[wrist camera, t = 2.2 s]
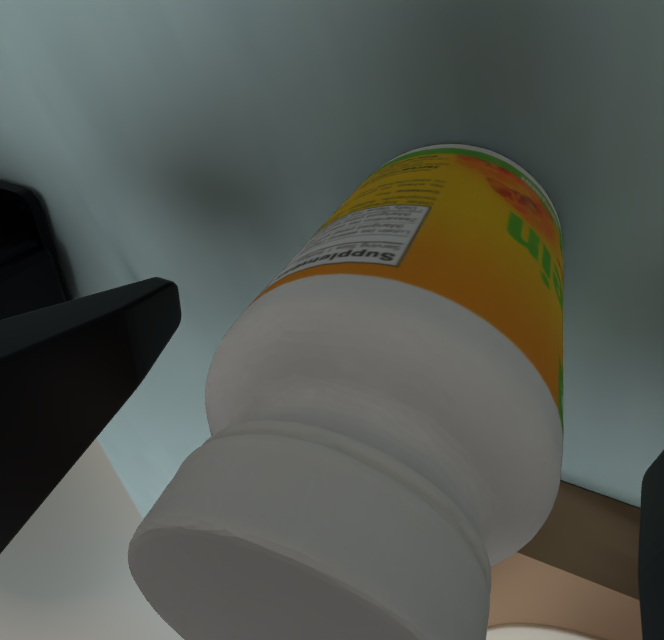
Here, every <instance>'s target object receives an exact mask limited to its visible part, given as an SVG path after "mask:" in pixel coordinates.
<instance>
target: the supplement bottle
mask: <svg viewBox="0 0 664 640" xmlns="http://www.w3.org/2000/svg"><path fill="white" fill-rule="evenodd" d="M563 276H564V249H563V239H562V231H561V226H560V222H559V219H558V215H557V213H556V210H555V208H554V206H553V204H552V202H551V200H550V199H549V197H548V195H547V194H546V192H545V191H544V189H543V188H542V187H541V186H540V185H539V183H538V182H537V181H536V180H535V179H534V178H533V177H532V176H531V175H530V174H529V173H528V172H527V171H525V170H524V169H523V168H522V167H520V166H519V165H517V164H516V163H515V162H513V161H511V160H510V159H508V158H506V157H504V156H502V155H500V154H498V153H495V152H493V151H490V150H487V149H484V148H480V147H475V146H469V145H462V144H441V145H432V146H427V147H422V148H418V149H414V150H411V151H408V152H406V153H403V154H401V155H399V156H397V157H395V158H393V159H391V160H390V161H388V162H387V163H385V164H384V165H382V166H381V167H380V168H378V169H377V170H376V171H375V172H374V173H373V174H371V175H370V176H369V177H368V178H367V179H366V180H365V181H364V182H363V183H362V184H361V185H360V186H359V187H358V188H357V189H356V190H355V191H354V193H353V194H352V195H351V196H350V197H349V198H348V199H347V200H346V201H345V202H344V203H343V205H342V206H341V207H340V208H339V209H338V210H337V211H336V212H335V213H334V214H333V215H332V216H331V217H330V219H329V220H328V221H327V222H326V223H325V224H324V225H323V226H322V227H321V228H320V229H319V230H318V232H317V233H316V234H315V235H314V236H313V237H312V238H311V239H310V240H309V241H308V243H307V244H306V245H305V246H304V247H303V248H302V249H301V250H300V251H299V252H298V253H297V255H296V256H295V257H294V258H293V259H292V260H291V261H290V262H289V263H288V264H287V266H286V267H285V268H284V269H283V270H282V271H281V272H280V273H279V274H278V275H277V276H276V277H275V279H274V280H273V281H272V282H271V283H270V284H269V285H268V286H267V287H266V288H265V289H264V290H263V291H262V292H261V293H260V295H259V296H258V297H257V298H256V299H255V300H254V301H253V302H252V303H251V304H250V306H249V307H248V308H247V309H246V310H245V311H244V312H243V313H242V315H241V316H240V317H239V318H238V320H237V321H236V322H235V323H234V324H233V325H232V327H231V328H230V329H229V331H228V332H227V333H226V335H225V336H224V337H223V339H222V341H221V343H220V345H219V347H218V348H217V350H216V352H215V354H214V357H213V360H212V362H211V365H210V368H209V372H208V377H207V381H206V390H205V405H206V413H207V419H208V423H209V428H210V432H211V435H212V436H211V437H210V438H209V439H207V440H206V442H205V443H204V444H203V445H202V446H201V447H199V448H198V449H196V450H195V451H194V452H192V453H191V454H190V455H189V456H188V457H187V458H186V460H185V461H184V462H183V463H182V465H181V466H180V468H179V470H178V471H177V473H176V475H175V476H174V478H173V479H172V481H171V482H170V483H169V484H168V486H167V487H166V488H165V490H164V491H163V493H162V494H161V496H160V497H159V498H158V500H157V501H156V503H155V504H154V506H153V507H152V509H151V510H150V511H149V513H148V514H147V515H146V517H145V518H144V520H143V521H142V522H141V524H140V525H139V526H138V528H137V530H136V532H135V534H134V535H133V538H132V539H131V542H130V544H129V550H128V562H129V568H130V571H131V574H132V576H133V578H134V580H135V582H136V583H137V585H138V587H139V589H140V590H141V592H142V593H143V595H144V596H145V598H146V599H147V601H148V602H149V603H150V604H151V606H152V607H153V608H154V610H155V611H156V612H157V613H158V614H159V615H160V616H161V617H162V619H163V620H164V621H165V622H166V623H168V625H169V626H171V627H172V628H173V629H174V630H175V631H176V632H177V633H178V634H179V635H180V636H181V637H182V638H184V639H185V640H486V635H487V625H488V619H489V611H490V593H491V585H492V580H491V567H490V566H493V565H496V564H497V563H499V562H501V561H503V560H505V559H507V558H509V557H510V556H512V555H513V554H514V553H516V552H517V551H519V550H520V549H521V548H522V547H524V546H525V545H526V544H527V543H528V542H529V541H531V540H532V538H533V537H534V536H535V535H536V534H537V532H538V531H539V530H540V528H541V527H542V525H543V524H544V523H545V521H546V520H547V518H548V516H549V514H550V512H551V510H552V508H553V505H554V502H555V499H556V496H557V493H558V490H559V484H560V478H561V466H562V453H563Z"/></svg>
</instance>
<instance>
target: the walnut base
mask: <svg viewBox="0 0 664 640" xmlns="http://www.w3.org/2000/svg"><path fill="white" fill-rule="evenodd" d="M640 510H641V509H639V508H636V507H633V506H630V505H627V504H624V503H622V502H619V501H616V500H613V499H610V498H607V497H605V496H602V495H599V494H596V493H593V492H590V491H588V490H585V489H582V488H579V487H576V486H573V485H571V484H568V483H565V482H562V481H560V484H559V490H558V493H557V496H556V499H555V502H554V505H553V508H552V510H551V512H550V514H549V516H548V518H547V520H546V521H545V523H544V524H543V525H542V527H541V528H540V530H539V531H538V532H537V534H536V535H535V536H534V537H533V538H532V540H531V541H529V542H528V543H527V544H526V545H525V546H524V547H522V548H521V549H520V550H519V551H517V552H516V553H514V554H513V555H512V556H510V557H509V558H507V559H505V560H503V561H501V562H499V563H497V564H496V565H493V566H490V567H491V580H492V585H491V593H490V611H489V619H488V625H487V635H486V640H642V628H641V615H640V602H639V589H638V549H639V529H640Z"/></svg>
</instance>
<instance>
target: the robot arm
mask: <svg viewBox="0 0 664 640" xmlns="http://www.w3.org/2000/svg"><path fill="white" fill-rule="evenodd" d="M180 321H181V308H180V300H179V292H178V287H177V285H176V284H175V283H174V282H172V281H169V280H166V279H163V278H159V277H154V278H150V279H146V280H143V281H139V282H136V283H132V284H128V285H125V286H121V287H118V288H114V289H110V290H107V291H103V292H100V293H96V294H92V295H89V296H85V297H82V298H78V299H74V300H71V301H70V299H69V295H68V292H67V289H66V286H65V282H64V279H63V276H62V272H61V269H60V266H59V262H58V259H57V256H56V253H55V249H54V246H53V243H52V239H51V236H50V233H49V229H48V226H47V223H46V220H45V216H44V213H43V210H42V206H41V204H40V202H39V200H38V198H37V197H36V196H35V195H34V194H33V193H32V192H31V191H30V190H28V189H26V188H22V187H19V186H15V185H12V184H8V183H5V182H1V181H0V554H1V552H2V551H3V550H4V549H5V548H6V546H7V545H8V544H9V543H10V541H11V540H12V539H13V538H14V537H15V535H16V534H17V533H18V532H19V531H20V529H21V528H22V527H23V526H24V524H25V523H26V522H27V521H28V520H29V519H30V517H31V516H32V515H33V514H34V512H35V511H36V510H37V509H38V508H39V506H40V505H41V504H42V503H43V502H44V500H45V499H46V498H47V497H48V496H49V494H50V493H51V492H52V491H53V489H54V488H55V487H56V486H57V485H58V483H59V482H60V481H61V479H63V477H64V476H65V475H66V474H67V472H68V471H69V470H70V469H71V468H72V466H73V465H74V464H75V463H76V461H77V460H78V459H79V458H80V457H81V456H82V454H83V453H84V452H85V451H86V449H87V448H88V447H89V446H90V445H91V443H92V442H93V441H94V440H95V439H96V437H97V436H98V435H99V434H100V433H101V431H102V430H103V429H104V428H105V427H106V425H107V424H108V423H109V422H110V420H111V419H112V418H113V417H114V416H115V414H116V413H117V412H118V411H119V410H120V408H121V407H122V406H123V405H124V404H125V402H126V401H127V400H128V399H129V397H130V396H131V395H132V394H133V393H134V391H135V390H136V389H137V387H138V386H139V385H140V383H141V382H142V381H143V379H144V378H145V376H146V375H147V374H148V372H149V371H150V369H151V367H152V366H153V364H154V363H155V361H156V360H157V358H158V357H159V355H160V354H161V352H162V351H163V349H164V348H165V346H166V345H167V343H168V342H169V340H170V339H171V337H172V336H173V334H174V333H175V331H176V330H177V328H178V326H179V324H180ZM638 589H639V602H640V615H641V628H642V640H664V450H663V451H662V453H661V454H660V455H659V456H658V457H657V459H656V460H655V461H654V462H653V463H652V465H651V466H650V467H649V468H648V469H647V471H646V473H645V475H644V477H643V481H642V490H641V510H640V529H639V549H638Z"/></svg>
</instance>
